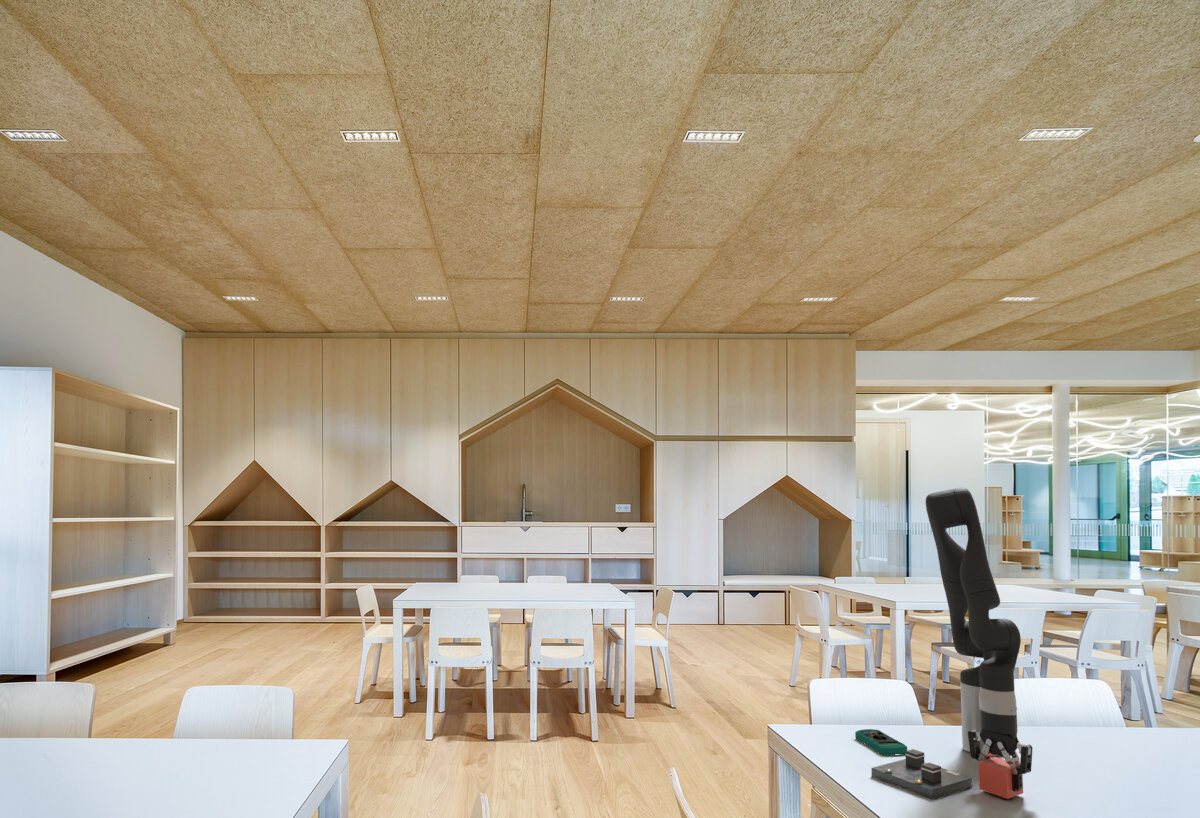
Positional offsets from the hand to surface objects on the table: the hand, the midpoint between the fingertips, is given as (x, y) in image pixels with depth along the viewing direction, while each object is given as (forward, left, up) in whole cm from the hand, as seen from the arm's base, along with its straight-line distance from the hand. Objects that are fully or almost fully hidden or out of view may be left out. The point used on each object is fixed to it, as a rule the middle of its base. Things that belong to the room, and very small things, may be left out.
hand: (1001, 785), depth 173 cm
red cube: (0, 0, -1) cm, 1 cm away
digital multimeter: (-5, -36, -3) cm, 37 cm away
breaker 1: (+5, -18, 0) cm, 19 cm away
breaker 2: (+11, -10, 0) cm, 15 cm away
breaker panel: (+9, -14, -2) cm, 17 cm away
